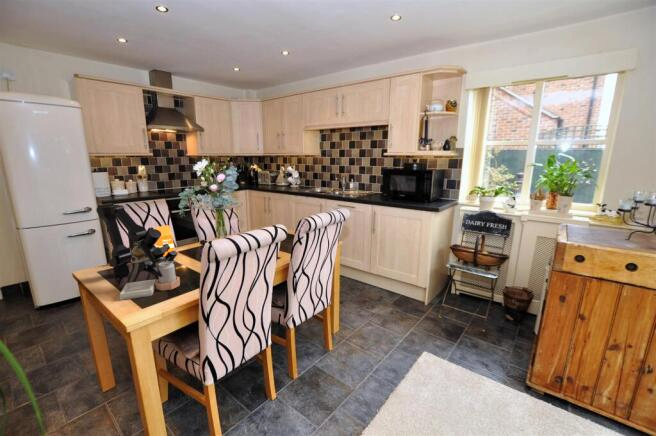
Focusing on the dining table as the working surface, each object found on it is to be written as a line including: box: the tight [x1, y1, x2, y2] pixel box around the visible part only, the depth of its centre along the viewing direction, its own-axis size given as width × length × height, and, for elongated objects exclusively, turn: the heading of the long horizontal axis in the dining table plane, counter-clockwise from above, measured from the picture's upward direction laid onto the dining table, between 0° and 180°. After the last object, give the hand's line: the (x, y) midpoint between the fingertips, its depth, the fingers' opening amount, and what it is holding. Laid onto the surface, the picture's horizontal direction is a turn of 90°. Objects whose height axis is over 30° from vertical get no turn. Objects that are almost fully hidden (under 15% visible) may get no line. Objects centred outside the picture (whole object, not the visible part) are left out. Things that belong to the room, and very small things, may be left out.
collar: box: [155, 275, 181, 291], centre depth 152 cm, size 10×10×3 cm
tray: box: [119, 278, 157, 301], centre depth 145 cm, size 13×13×3 cm
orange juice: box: [153, 224, 175, 257], centre depth 193 cm, size 8×9×20 cm
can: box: [156, 261, 177, 284], centre depth 151 cm, size 8×8×12 cm
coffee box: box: [128, 236, 149, 264], centre depth 186 cm, size 9×6×16 cm
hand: (168, 273), depth 151 cm, fingers closed on can, 7 cm apart
